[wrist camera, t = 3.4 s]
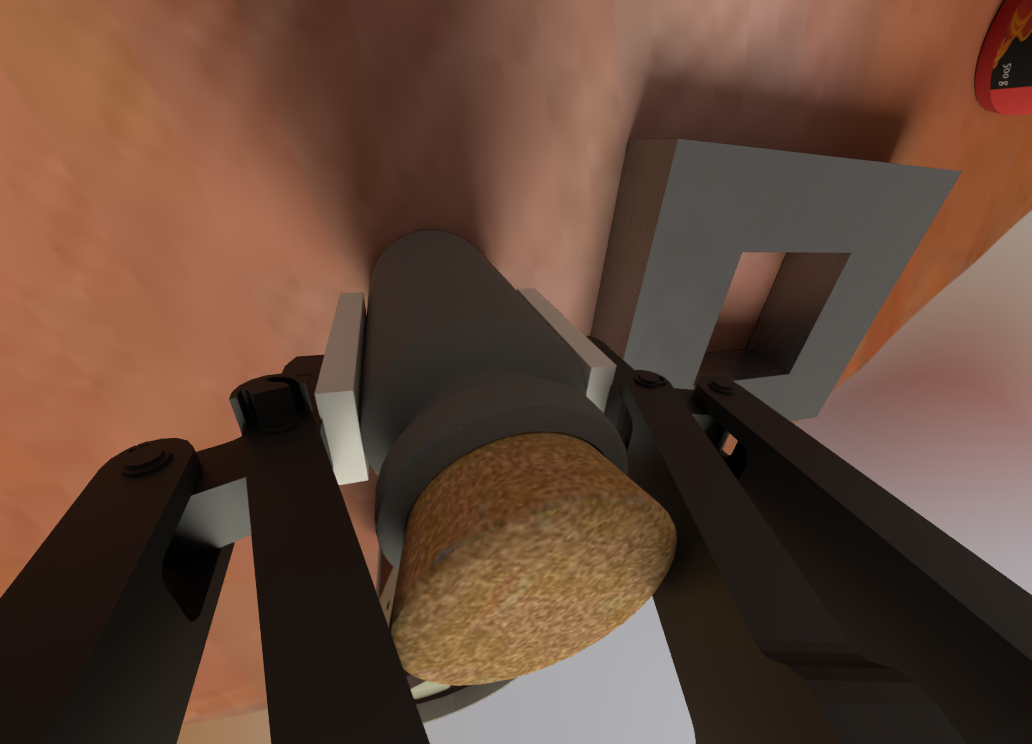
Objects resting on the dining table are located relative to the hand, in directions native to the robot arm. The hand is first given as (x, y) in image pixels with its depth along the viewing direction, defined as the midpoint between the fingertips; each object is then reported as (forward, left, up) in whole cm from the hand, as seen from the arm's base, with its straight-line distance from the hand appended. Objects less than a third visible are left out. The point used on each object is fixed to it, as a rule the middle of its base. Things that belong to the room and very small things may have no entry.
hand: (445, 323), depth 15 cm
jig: (+1, +18, -4) cm, 18 cm away
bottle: (0, 0, -4) cm, 4 cm away
